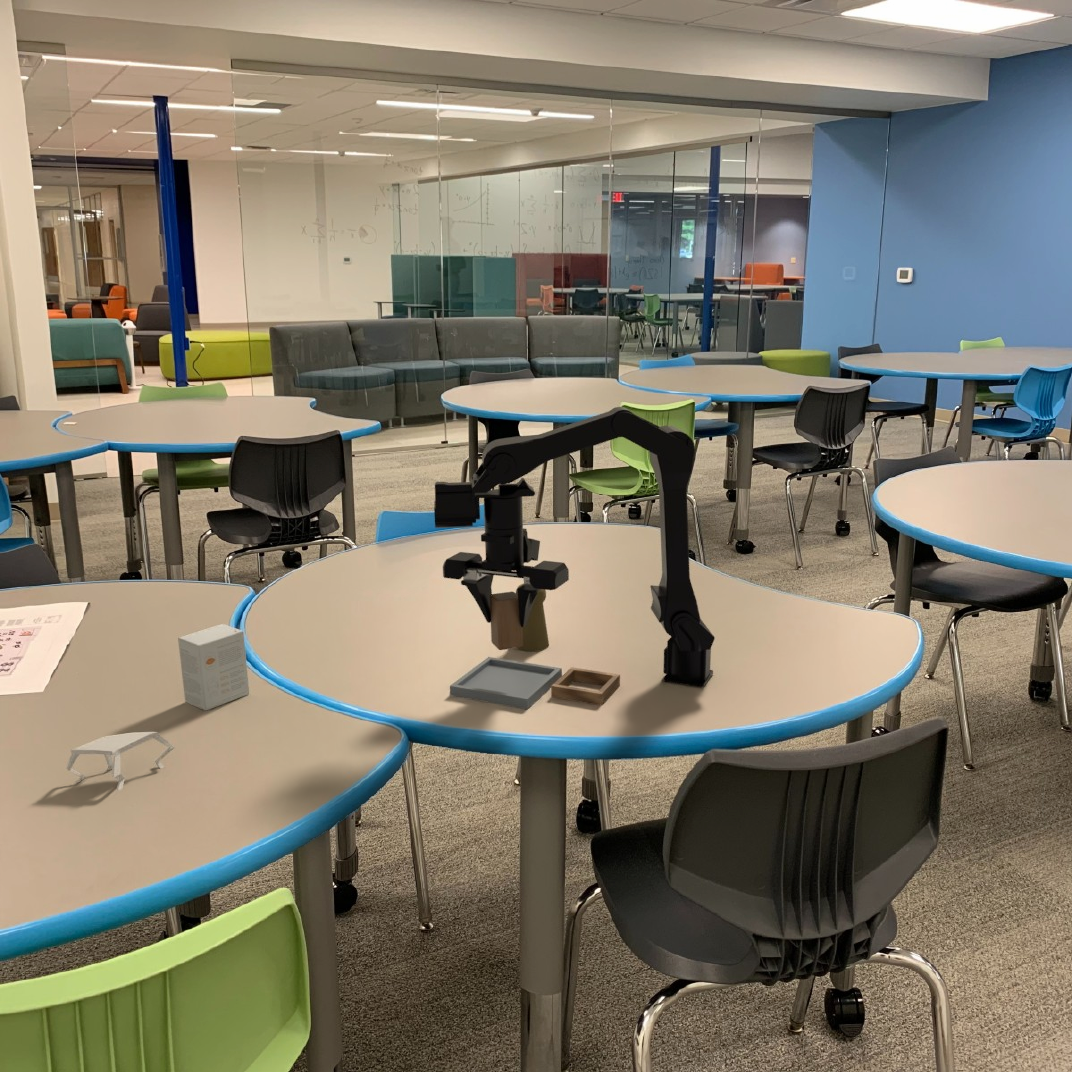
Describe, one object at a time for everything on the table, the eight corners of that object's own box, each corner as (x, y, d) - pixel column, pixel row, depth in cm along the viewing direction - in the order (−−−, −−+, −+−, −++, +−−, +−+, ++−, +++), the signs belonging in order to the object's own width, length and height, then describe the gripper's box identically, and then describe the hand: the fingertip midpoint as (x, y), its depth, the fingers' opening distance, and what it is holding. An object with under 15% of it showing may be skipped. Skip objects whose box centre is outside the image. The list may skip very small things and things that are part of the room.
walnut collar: (619, 685, 157) (620, 674, 157) (601, 705, 150) (601, 694, 149) (571, 677, 160) (571, 667, 160) (551, 696, 153) (551, 685, 153)
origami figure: (92, 804, 124) (87, 767, 123) (66, 780, 130) (61, 745, 128) (185, 770, 132) (181, 736, 131) (157, 750, 138) (153, 717, 137)
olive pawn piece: (519, 653, 171) (517, 591, 168) (510, 641, 177) (509, 580, 174) (553, 649, 173) (552, 587, 170) (543, 637, 178) (542, 577, 176)
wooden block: (490, 642, 157) (489, 593, 155) (515, 639, 158) (513, 590, 156) (498, 651, 153) (497, 601, 151) (523, 647, 154) (522, 597, 152)
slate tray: (561, 677, 160) (561, 668, 160) (527, 709, 149) (527, 699, 148) (488, 666, 166) (488, 656, 165) (450, 695, 154) (449, 685, 154)
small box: (229, 685, 159) (223, 622, 156) (250, 694, 156) (244, 630, 153) (183, 702, 153) (176, 636, 150) (204, 711, 150) (197, 645, 147)
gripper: (581, 518, 154) (582, 615, 158) (473, 509, 162) (476, 601, 165) (553, 535, 144) (554, 638, 148) (438, 524, 152) (443, 623, 156)
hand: (506, 624), depth 155 cm, fingers closed on wooden block, 5 cm apart
